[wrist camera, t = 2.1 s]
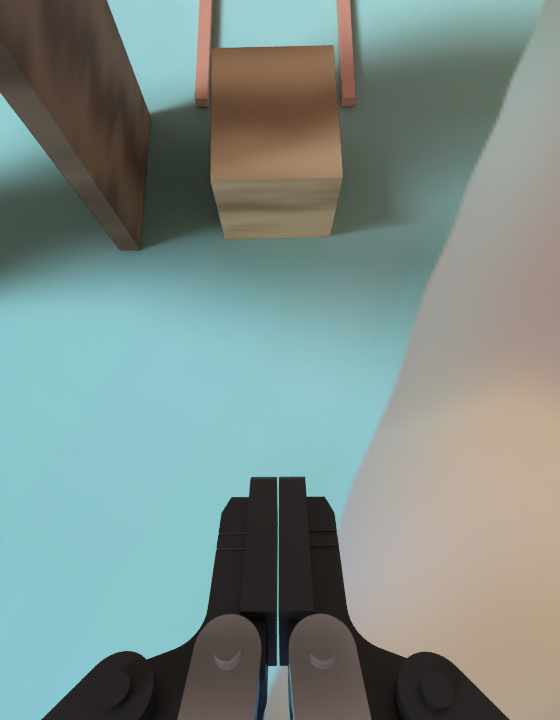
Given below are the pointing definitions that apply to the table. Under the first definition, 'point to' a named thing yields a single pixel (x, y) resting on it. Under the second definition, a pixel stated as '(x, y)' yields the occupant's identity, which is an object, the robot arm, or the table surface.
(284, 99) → the oak block
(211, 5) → the terracotta frame
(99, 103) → the wooden l-shaped stand
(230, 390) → the table surface
